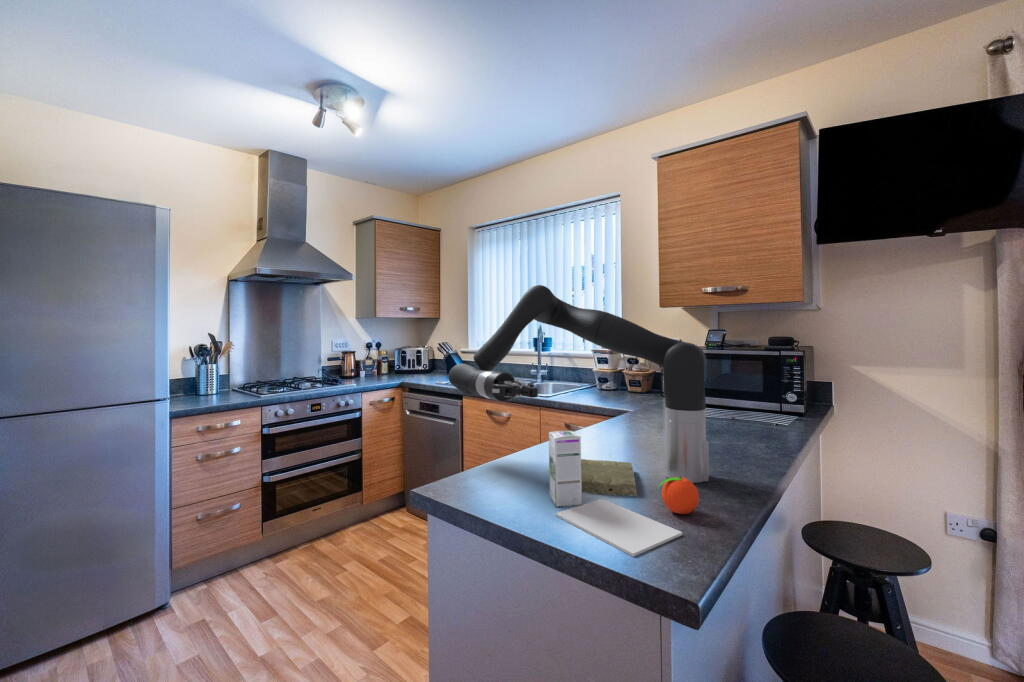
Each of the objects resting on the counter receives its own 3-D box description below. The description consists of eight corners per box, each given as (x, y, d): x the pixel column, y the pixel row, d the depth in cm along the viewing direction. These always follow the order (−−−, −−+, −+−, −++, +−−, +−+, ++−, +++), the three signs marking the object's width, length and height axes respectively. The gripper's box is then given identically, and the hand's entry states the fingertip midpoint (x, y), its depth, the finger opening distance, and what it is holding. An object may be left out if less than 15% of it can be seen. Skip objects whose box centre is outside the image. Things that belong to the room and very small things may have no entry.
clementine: (663, 520, 82) (663, 483, 81) (651, 506, 88) (651, 471, 88) (705, 520, 82) (705, 482, 81) (690, 505, 88) (690, 471, 88)
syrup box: (582, 505, 89) (582, 435, 89) (555, 507, 88) (554, 436, 88) (574, 495, 94) (574, 429, 94) (548, 497, 93) (547, 430, 93)
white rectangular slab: (555, 515, 84) (555, 513, 84) (602, 501, 91) (602, 498, 91) (633, 556, 68) (633, 553, 68) (682, 535, 75) (682, 532, 75)
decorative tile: (555, 468, 116) (555, 455, 116) (632, 473, 111) (632, 459, 111) (546, 493, 97) (546, 477, 97) (638, 499, 93) (638, 483, 93)
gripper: (473, 372, 110) (511, 378, 95) (515, 370, 117) (557, 375, 103) (473, 401, 110) (511, 411, 95) (515, 397, 117) (557, 406, 103)
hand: (535, 392), depth 99 cm, fingers closed
